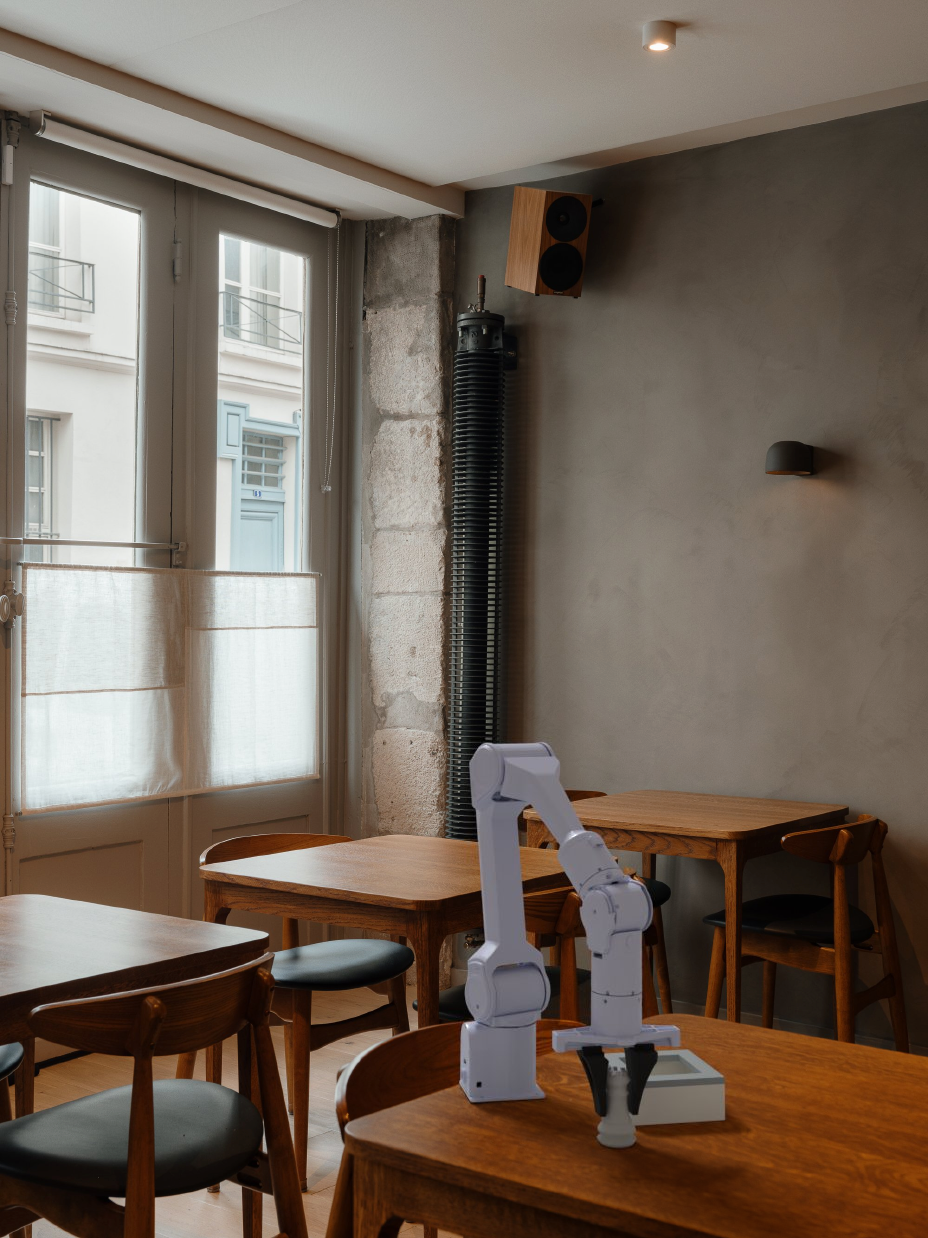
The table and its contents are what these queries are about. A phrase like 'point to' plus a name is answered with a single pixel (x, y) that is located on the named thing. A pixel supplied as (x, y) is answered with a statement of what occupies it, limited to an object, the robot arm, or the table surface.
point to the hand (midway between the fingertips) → (616, 1113)
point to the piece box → (678, 1089)
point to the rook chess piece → (617, 1112)
